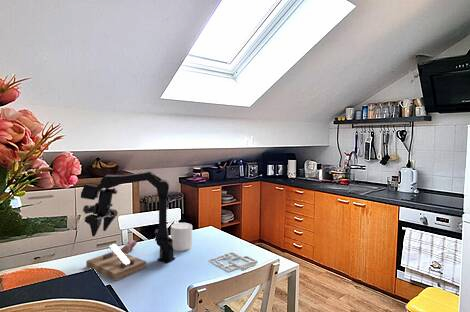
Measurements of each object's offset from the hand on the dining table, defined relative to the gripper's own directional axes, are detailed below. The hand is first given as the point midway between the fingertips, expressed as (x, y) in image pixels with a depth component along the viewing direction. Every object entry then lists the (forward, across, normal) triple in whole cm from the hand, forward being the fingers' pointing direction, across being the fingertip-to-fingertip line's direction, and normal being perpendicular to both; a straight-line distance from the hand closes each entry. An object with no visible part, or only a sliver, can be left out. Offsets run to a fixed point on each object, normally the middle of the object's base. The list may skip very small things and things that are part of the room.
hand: (99, 233), depth 143 cm
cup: (+8, -28, +34) cm, 45 cm away
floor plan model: (+4, -15, +68) cm, 69 cm away
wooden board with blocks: (+13, +2, +12) cm, 18 cm away
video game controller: (+13, -16, +9) cm, 22 cm away
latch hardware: (+10, +3, +13) cm, 16 cm away
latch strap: (+6, +4, +14) cm, 16 cm away
